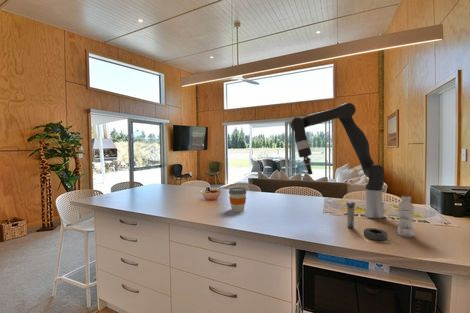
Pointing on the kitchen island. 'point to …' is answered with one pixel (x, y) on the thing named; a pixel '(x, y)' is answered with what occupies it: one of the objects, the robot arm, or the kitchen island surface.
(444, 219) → the kitchen island surface
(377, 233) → the chuck collar
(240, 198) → the reusable coffee cup
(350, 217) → the steel key rod
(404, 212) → the plastic bottle
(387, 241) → the oak base plate
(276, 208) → the kitchen island surface
